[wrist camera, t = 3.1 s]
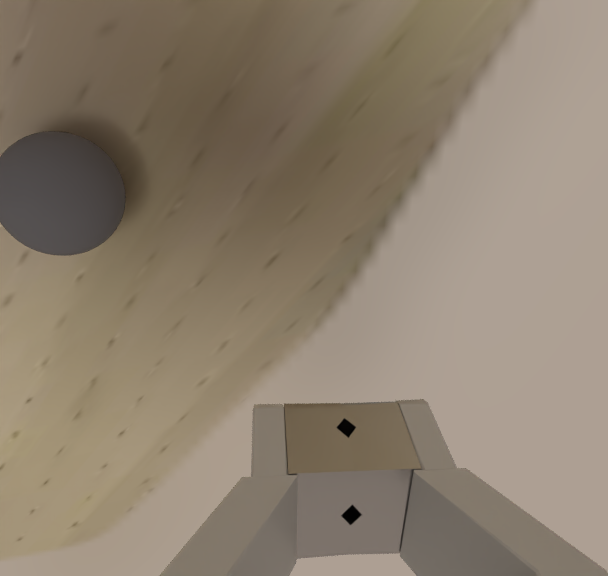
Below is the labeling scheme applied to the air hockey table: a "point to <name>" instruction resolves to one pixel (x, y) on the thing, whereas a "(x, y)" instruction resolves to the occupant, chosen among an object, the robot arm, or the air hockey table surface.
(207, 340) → the air hockey table surface
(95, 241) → the dark grey ball
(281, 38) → the air hockey table surface
